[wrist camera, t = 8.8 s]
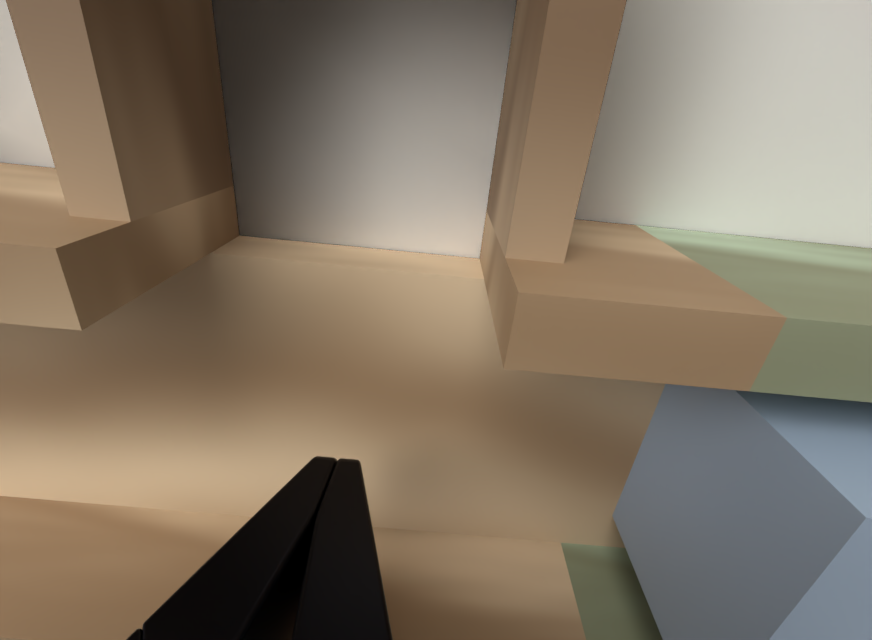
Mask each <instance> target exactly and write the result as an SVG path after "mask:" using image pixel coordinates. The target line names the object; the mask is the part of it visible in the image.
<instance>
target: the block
mask: <svg viewBox="0 0 872 640" xmlns="http://www.w3.org/2000/svg"><path fill="white" fill-rule="evenodd" d="M612 516H613V519H614V521H615V523H616V526H617V528H618V531H619V533H620V536H621V538H622V541H623V543H624V546H625V548H626V550H627V553H628V555H629V558H630V560H631V563H632V565H633V568H634V570H635V573H636V575H637V577H638V580H639V582H640V585H641V587H642V590H643V592H644V595H645V597H646V600H647V602H648V604H649V607H650V609H651V612H652V614H653V617H654V619H655V622H656V624H657V627H658V629H659V632H660V634H661V636H662V639H663V640H872V403H871V402H860V401H849V400H838V399H827V398H816V397H805V396H794V395H783V394H772V393H761V392H750V391H739V390H728V389H717V388H706V387H695V386H684V385H673V384H665V387H664V389H663V392H662V394H661V396H660V399H659V401H658V404H657V406H656V409H655V411H654V414H653V416H652V419H651V421H650V424H649V426H648V429H647V431H646V434H645V436H644V439H643V441H642V444H641V446H640V448H639V451H638V453H637V456H636V458H635V461H634V463H633V466H632V468H631V471H630V473H629V476H628V478H627V481H626V483H625V486H624V488H623V491H622V493H621V496H620V498H619V500H618V503H617V505H616V508H615V510H614V513H613V515H612Z"/></svg>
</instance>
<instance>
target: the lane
mask: <svg viewBox="0 0 872 640" xmlns="http://www.w3.org/2000/svg"><path fill="white" fill-rule="evenodd" d="M626 1H627V0H517V3H516V10H515V17H514V24H513V31H512V38H511V45H510V52H509V58H508V65H507V72H506V79H505V86H504V93H503V100H502V107H501V114H500V121H499V128H498V135H497V142H496V149H495V156H494V163H493V169H492V176H491V183H490V190H489V197H488V204H487V211H486V218H485V225H484V232H483V239H482V246H481V253H480V259H477V258H467V257H457V256H446V255H436V254H425V253H415V252H405V251H394V250H384V249H373V248H363V247H353V246H342V245H332V244H321V243H311V242H301V241H290V240H280V239H269V238H259V237H249V236H239V227H238V219H237V211H236V202H235V194H234V185H233V177H232V168H231V160H230V151H229V143H228V135H227V126H226V118H225V109H224V101H223V92H222V84H221V76H220V67H219V59H218V50H217V42H216V33H215V25H214V16H213V8H212V0H6V2H7V6H8V9H9V12H10V16H11V19H12V22H13V26H14V29H15V33H16V36H17V39H18V43H19V46H20V50H21V53H22V56H23V60H24V63H25V66H26V70H27V73H28V77H29V80H30V83H31V87H32V90H33V94H34V97H35V100H36V104H37V107H38V111H39V114H40V117H41V121H42V124H43V127H44V131H45V134H46V138H47V141H48V144H49V148H50V151H51V155H52V158H53V161H54V165H55V168H49V167H39V166H28V165H18V164H8V163H0V640H126V639H127V638H128V637H129V636H130V635H131V634H132V633H133V632H134V631H135V630H136V629H138V628H141V629H142V625H143V623H144V622H145V621H146V620H147V619H148V618H149V617H150V616H151V615H152V614H153V613H154V612H155V611H156V610H157V609H158V608H159V607H160V606H161V605H162V604H163V603H164V602H165V601H166V600H167V599H168V598H169V597H170V596H172V595H173V594H174V593H175V592H176V591H177V590H178V589H179V588H180V587H181V586H182V585H183V584H184V583H185V582H186V581H187V580H188V579H189V578H190V577H191V576H192V575H193V574H194V573H195V572H196V571H197V570H198V569H199V568H200V567H201V566H202V565H203V564H204V563H205V562H206V561H207V560H208V559H210V558H211V557H212V556H213V555H214V554H215V553H216V552H217V551H218V550H219V549H220V548H221V547H222V546H223V545H224V544H225V543H226V542H227V541H228V540H229V539H230V538H231V537H232V536H233V535H234V534H235V533H236V532H237V531H238V530H239V529H240V528H241V527H242V526H243V525H244V524H245V523H247V522H248V521H249V520H250V519H251V518H252V517H253V516H254V515H255V514H256V513H257V512H258V511H259V510H260V509H261V508H262V507H263V506H264V505H265V504H266V503H267V502H268V501H269V500H270V499H271V498H272V497H273V496H274V495H275V494H276V493H277V492H278V491H279V490H280V489H281V488H282V487H283V486H285V485H286V484H287V483H288V482H289V481H290V480H291V479H292V478H293V477H294V476H295V475H296V474H297V473H298V472H299V471H300V470H301V469H302V468H303V467H304V466H305V465H306V464H307V463H308V462H309V461H310V460H311V459H312V458H314V457H316V456H323V457H334V458H336V459H337V461H338V460H339V459H340V458H345V459H356V460H359V461H360V463H361V467H362V473H363V478H364V484H365V489H366V495H367V500H368V506H369V511H370V516H371V522H372V527H373V533H374V538H375V544H376V549H377V555H378V560H379V566H380V571H381V576H382V582H383V587H384V593H385V598H386V604H387V609H388V615H389V620H390V626H391V631H392V636H393V640H663V639H662V636H661V634H660V632H659V629H658V627H657V624H656V622H655V619H654V617H653V614H652V612H651V609H650V607H649V604H648V602H647V600H646V597H645V595H644V592H643V590H642V587H641V585H640V582H639V580H638V577H637V575H636V573H635V570H634V568H633V565H632V563H631V560H630V558H629V555H628V553H627V550H626V548H625V546H624V543H623V541H622V538H621V536H620V533H619V531H618V528H617V526H616V523H615V521H614V519H613V516H612V515H613V513H614V510H615V508H616V505H617V503H618V500H619V498H620V496H621V493H622V491H623V488H624V486H625V483H626V481H627V478H628V476H629V473H630V471H631V468H632V466H633V463H634V461H635V458H636V456H637V453H638V451H639V448H640V446H641V444H642V441H643V439H644V436H645V434H646V431H647V429H648V426H649V424H650V421H651V419H652V416H653V414H654V411H655V409H656V406H657V404H658V401H659V399H660V396H661V394H662V392H663V389H664V387H665V384H673V385H684V386H695V387H706V388H717V389H728V390H739V391H750V392H761V393H772V394H783V395H794V396H805V397H816V398H827V399H838V400H849V401H860V402H871V403H872V248H862V247H851V246H841V245H831V244H821V243H811V242H801V241H790V240H780V239H770V238H760V237H750V236H740V235H729V234H719V233H709V232H699V231H689V230H679V229H668V228H658V227H648V226H638V225H628V224H618V223H608V222H597V221H587V220H577V219H575V215H576V210H577V206H578V202H579V198H580V194H581V190H582V185H583V181H584V177H585V173H586V169H587V164H588V160H589V156H590V152H591V148H592V143H593V139H594V135H595V131H596V127H597V122H598V118H599V114H600V110H601V106H602V101H603V97H604V93H605V89H606V85H607V81H608V76H609V72H610V68H611V64H612V60H613V55H614V51H615V47H616V43H617V39H618V34H619V30H620V26H621V22H622V18H623V13H624V9H625V5H626Z"/></svg>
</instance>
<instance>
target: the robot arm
mask: <svg viewBox="0 0 872 640" xmlns="http://www.w3.org/2000/svg"><path fill="white" fill-rule="evenodd" d="M126 640H393V636H392V631H391V626H390V620H389V615H388V609H387V604H386V598H385V593H384V587H383V582H382V576H381V571H380V566H379V560H378V555H377V549H376V544H375V538H374V533H373V527H372V522H371V516H370V511H369V506H368V500H367V495H366V489H365V484H364V478H363V473H362V467H361V463H360V461H359V460H356V459H345V458H340V459H339V460H338V461H337V459H336V458H334V457H323V456H316V457H314V458H312V459H311V460H310V461H309V462H308V463H307V464H306V465H305V466H304V467H303V468H302V469H301V470H300V471H299V472H298V473H297V474H296V475H295V476H294V477H293V478H292V479H291V480H290V481H289V482H288V483H287V484H286V485H285V486H283V487H282V488H281V489H280V490H279V491H278V492H277V493H276V494H275V495H274V496H273V497H272V498H271V499H270V500H269V501H268V502H267V503H266V504H265V505H264V506H263V507H262V508H261V509H260V510H259V511H258V512H257V513H256V514H255V515H254V516H253V517H252V518H251V519H250V520H249V521H248V522H247V523H245V524H244V525H243V526H242V527H241V528H240V529H239V530H238V531H237V532H236V533H235V534H234V535H233V536H232V537H231V538H230V539H229V540H228V541H227V542H226V543H225V544H224V545H223V546H222V547H221V548H220V549H219V550H218V551H217V552H216V553H215V554H214V555H213V556H212V557H211V558H210V559H208V560H207V561H206V562H205V563H204V564H203V565H202V566H201V567H200V568H199V569H198V570H197V571H196V572H195V573H194V574H193V575H192V576H191V577H190V578H189V579H188V580H187V581H186V582H185V583H184V584H183V585H182V586H181V587H180V588H179V589H178V590H177V591H176V592H175V593H174V594H173V595H172V596H170V597H169V598H168V599H167V600H166V601H165V602H164V603H163V604H162V605H161V606H160V607H159V608H158V609H157V610H156V611H155V612H154V613H153V614H152V615H151V616H150V617H149V618H148V619H147V620H146V621H145V622H144V623H143V625H142V629H141V628H138V629H136V630H135V631H134V632H133V633H132V634H131V635H130V636H129V637H128V638H127V639H126Z"/></svg>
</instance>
